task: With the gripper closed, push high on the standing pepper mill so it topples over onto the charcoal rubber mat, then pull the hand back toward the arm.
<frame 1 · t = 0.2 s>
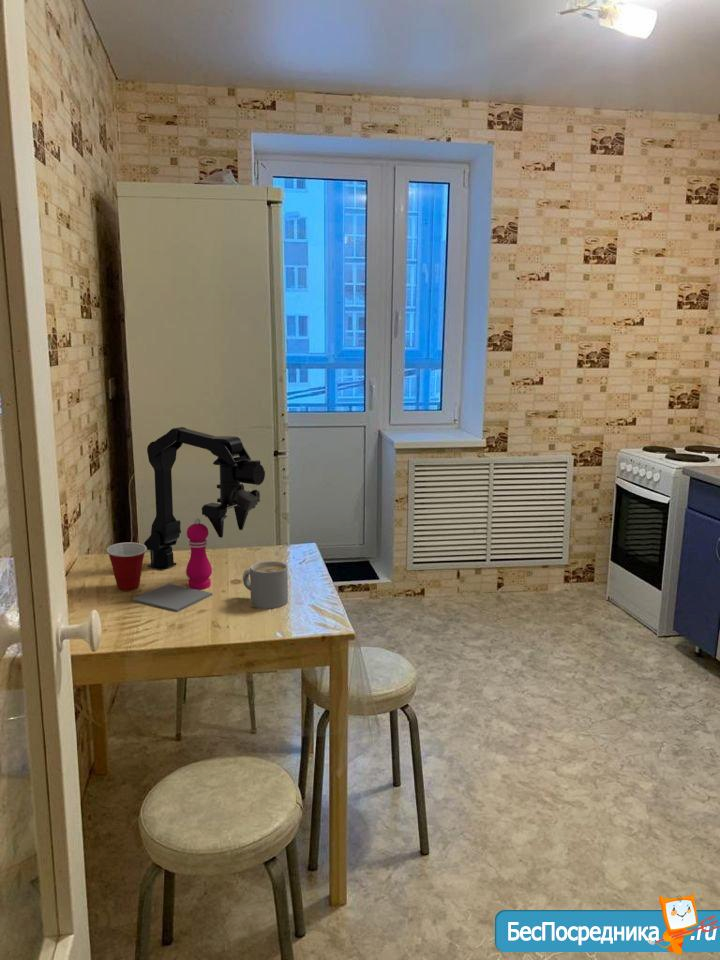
hand: (231, 533, 203), 14 cm above the table, fingers open, 9 cm apart
pepper mill: (199, 586, 201), on the table
coffee mug: (265, 601, 190), on the table
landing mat: (172, 597, 191), on the table
plastic cup: (129, 588, 198), on the table
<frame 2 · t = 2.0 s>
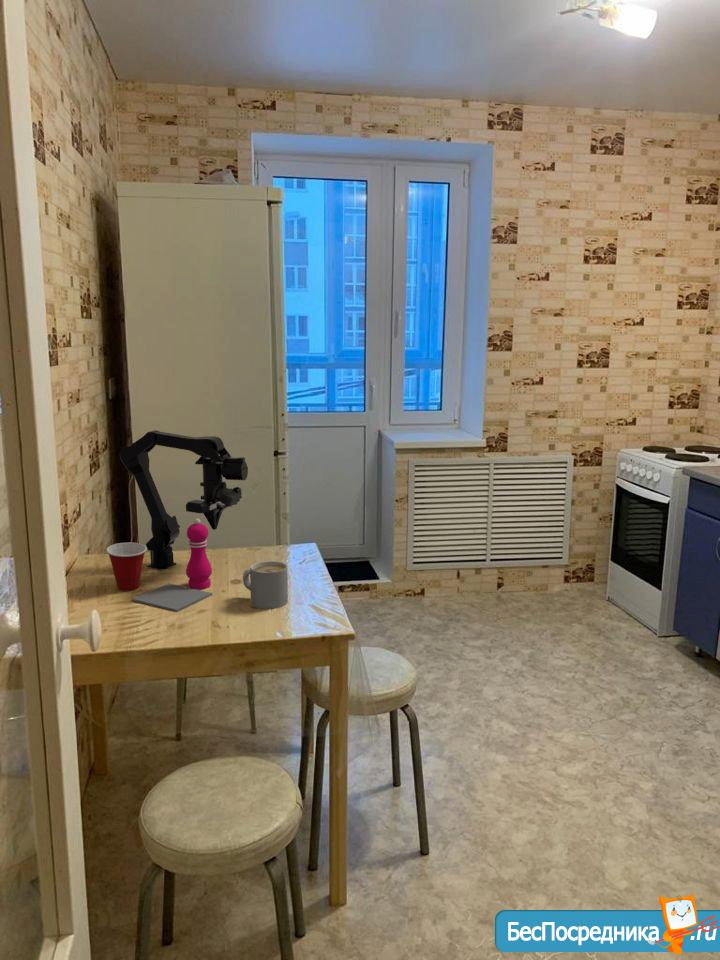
hand: (214, 529, 212), 13 cm above the table, fingers closed
nothing on the table moved.
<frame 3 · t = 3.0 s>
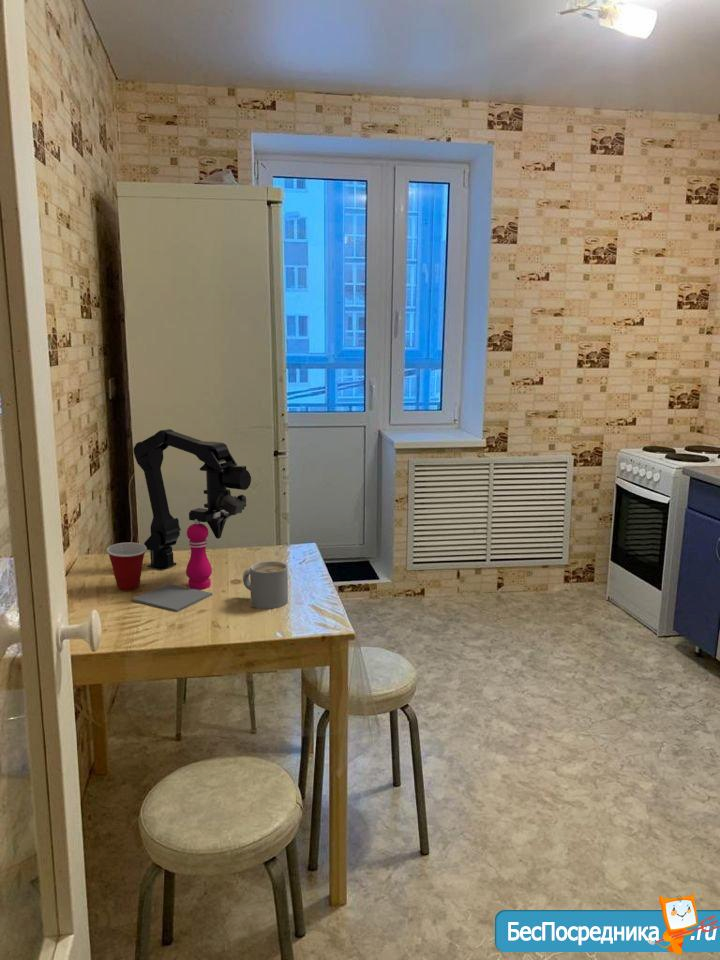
hand: (218, 538, 206), 12 cm above the table, fingers closed
nothing on the table moved.
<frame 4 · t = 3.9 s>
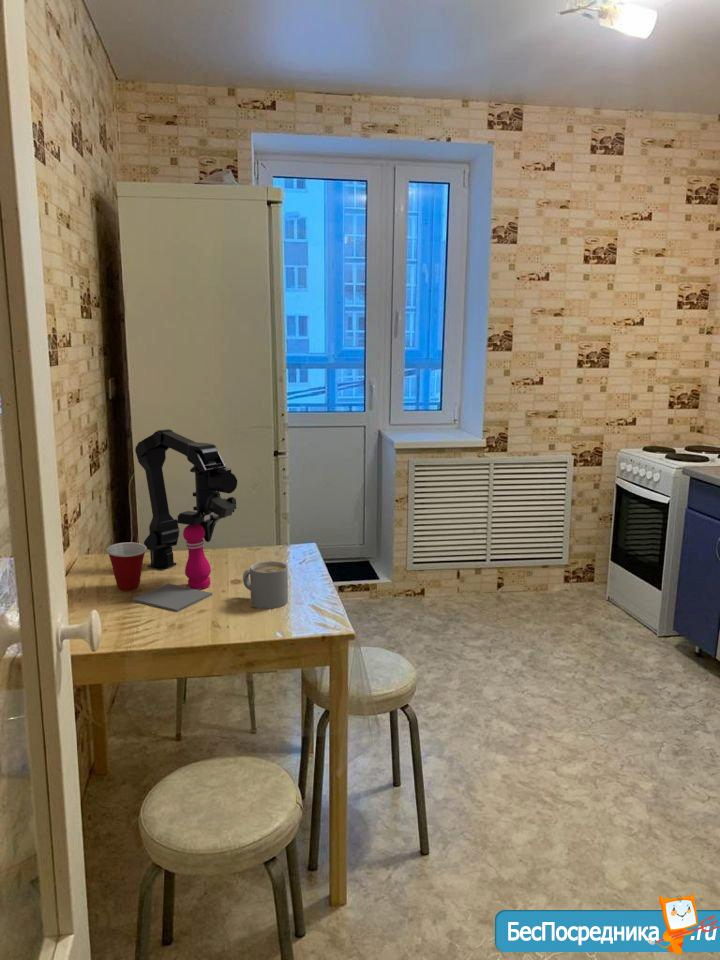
hand: (208, 541, 202), 12 cm above the table, fingers closed
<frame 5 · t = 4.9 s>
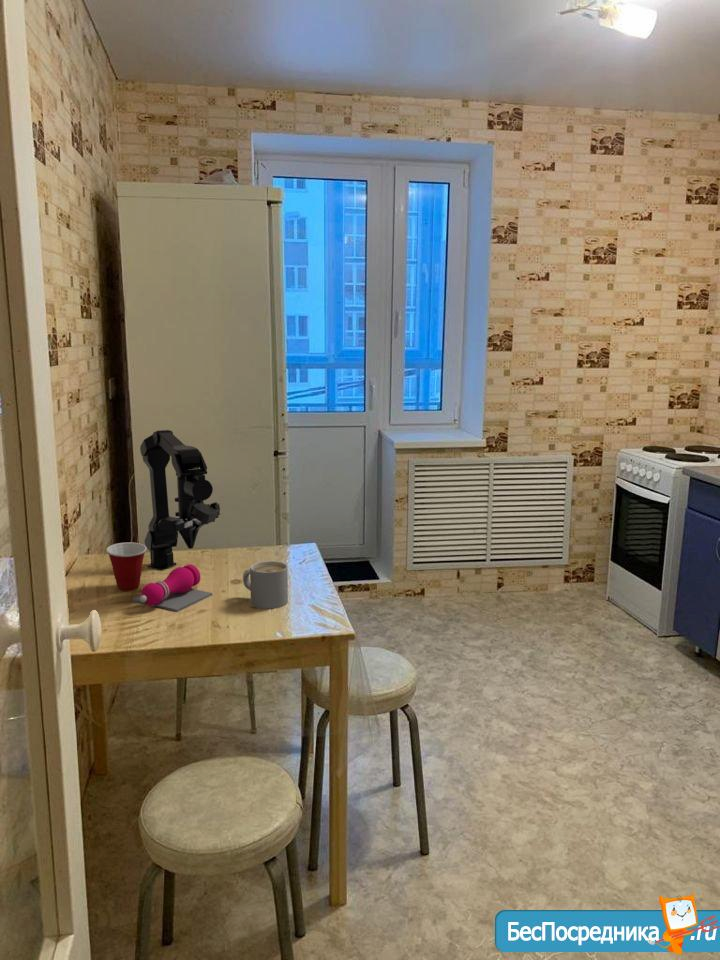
hand: (190, 548, 195), 12 cm above the table, fingers closed
pepper mill: (192, 574, 197), point 4 cm above the table, touching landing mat
everything else where it was.
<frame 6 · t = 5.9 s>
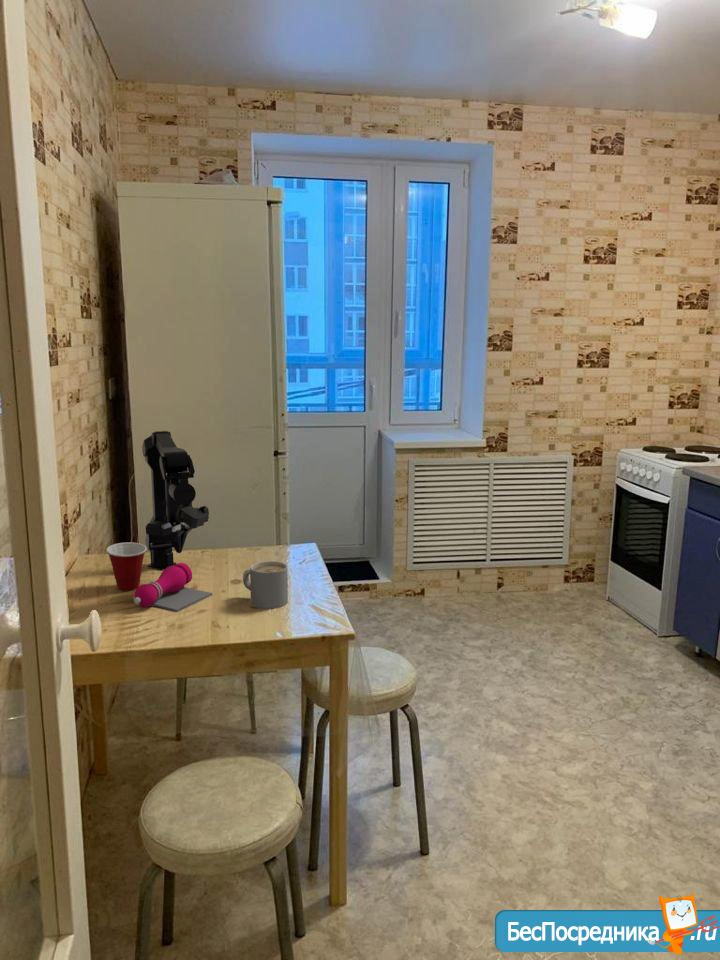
hand: (179, 552, 191), 12 cm above the table, fingers closed
pepper mill: (184, 572, 198), point 5 cm above the table, touching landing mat
everything else where it was.
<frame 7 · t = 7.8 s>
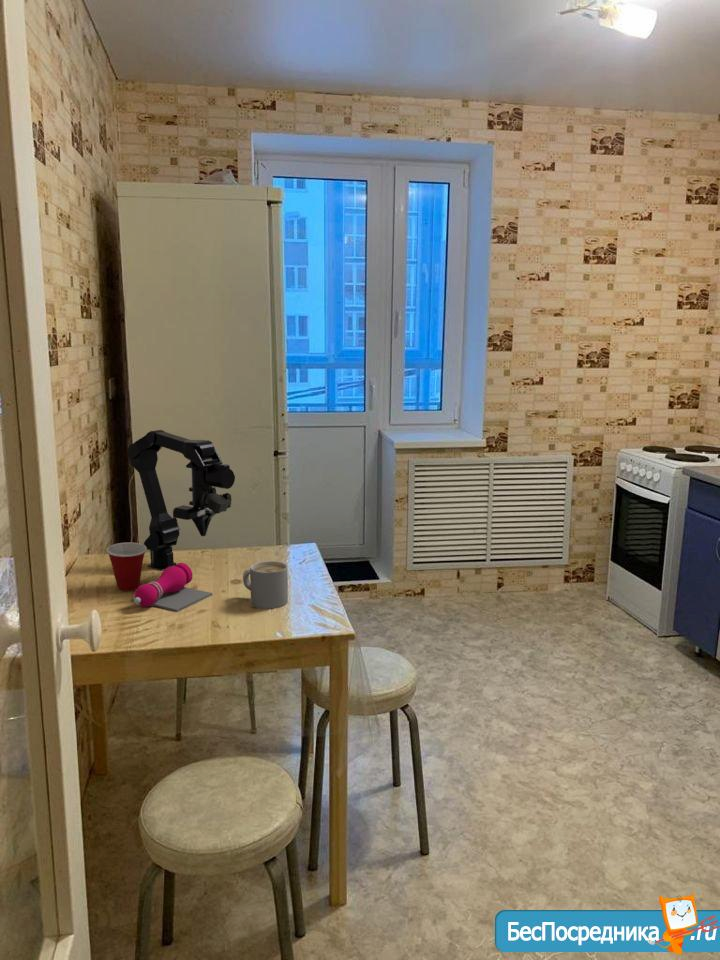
hand: (203, 535, 206), 13 cm above the table, fingers closed
nothing on the table moved.
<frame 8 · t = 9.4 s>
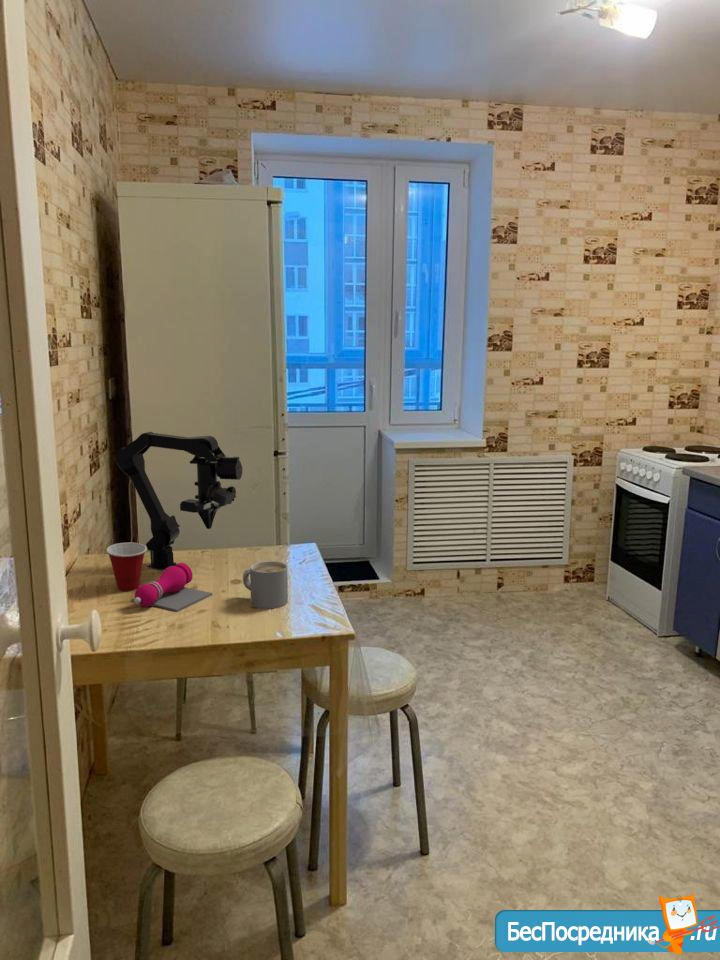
hand: (208, 528, 212), 13 cm above the table, fingers closed
nothing on the table moved.
at the end: pepper mill tilted 95°; pepper mill touching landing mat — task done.
